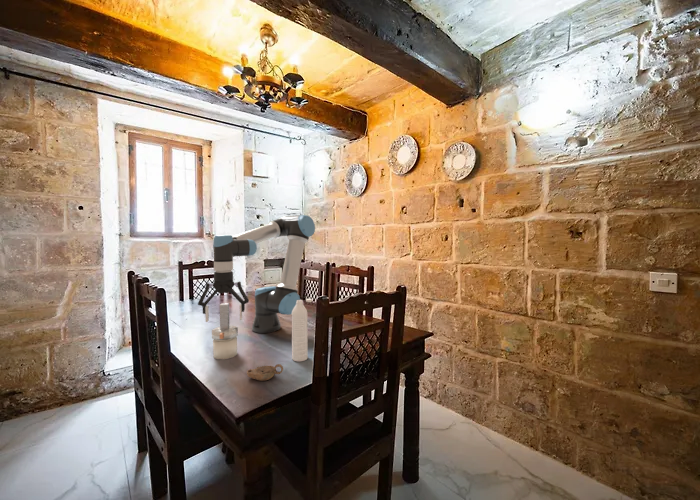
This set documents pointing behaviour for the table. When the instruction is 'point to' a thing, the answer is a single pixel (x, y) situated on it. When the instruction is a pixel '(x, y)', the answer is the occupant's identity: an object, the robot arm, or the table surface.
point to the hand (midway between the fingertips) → (224, 320)
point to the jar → (225, 348)
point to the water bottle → (299, 332)
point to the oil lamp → (264, 372)
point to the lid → (224, 325)
